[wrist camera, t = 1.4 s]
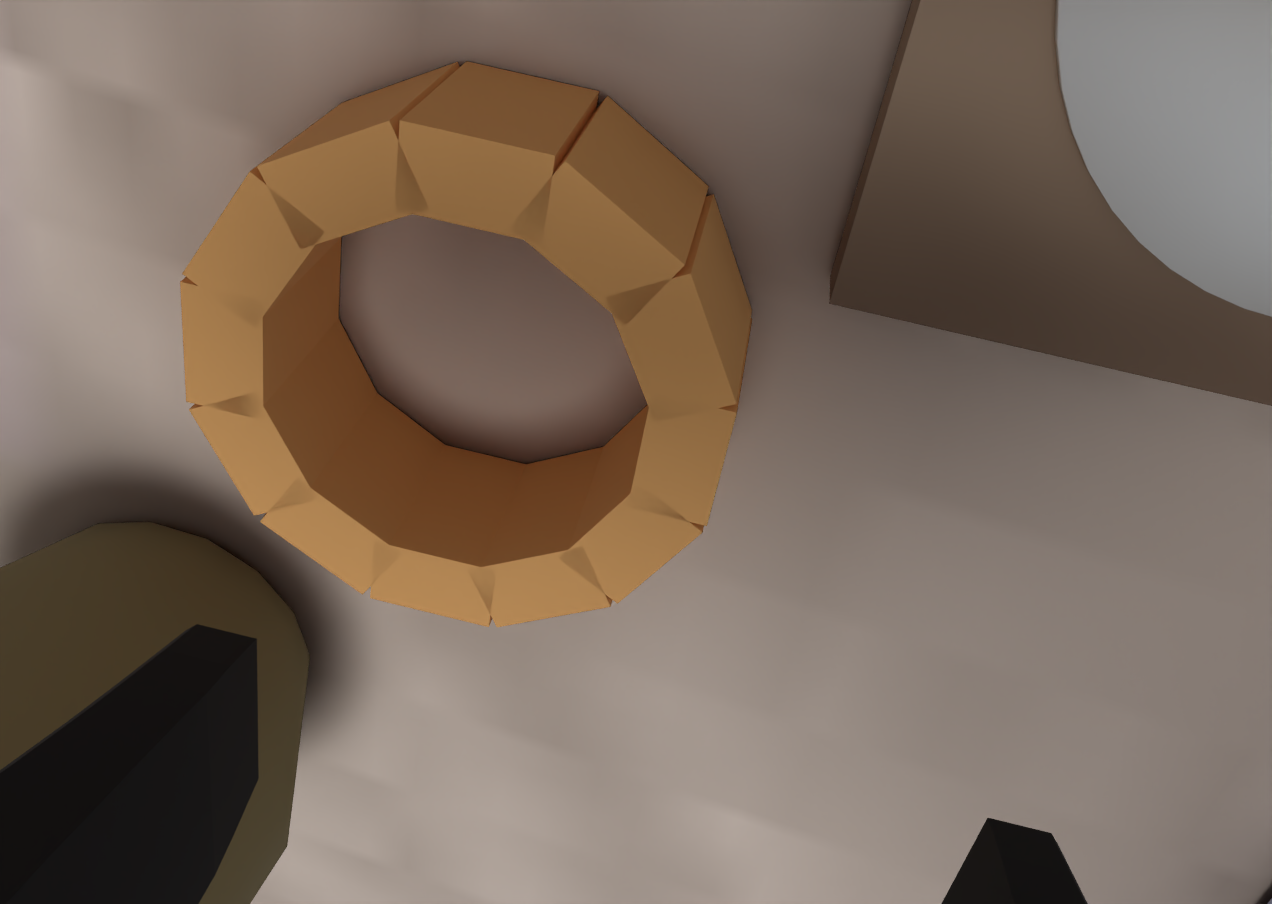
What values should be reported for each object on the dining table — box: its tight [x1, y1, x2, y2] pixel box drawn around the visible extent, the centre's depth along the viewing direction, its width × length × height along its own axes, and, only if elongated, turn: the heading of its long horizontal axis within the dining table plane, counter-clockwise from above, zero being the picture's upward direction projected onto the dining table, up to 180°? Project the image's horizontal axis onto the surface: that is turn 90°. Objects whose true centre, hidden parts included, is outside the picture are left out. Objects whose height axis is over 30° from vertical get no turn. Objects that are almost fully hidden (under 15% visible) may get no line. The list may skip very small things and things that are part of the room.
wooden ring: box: [180, 61, 752, 627], centre depth 18 cm, size 8×8×3 cm
